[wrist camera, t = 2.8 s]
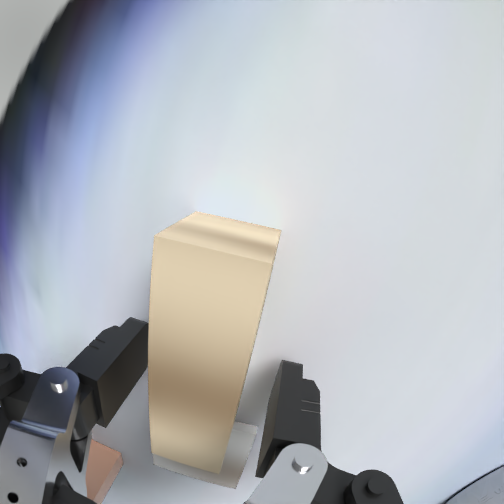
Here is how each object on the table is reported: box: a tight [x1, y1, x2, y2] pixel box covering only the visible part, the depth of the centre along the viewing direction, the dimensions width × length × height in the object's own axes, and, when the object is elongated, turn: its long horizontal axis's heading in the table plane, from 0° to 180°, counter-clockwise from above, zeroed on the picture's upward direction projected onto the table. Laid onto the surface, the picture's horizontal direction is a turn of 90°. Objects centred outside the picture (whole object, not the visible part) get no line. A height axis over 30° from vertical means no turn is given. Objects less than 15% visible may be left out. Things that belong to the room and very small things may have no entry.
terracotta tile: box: [85, 439, 123, 504], centre depth 12 cm, size 2×6×8 cm, turn 79°
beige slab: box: [148, 211, 281, 489], centre depth 11 cm, size 15×5×3 cm, turn 169°
